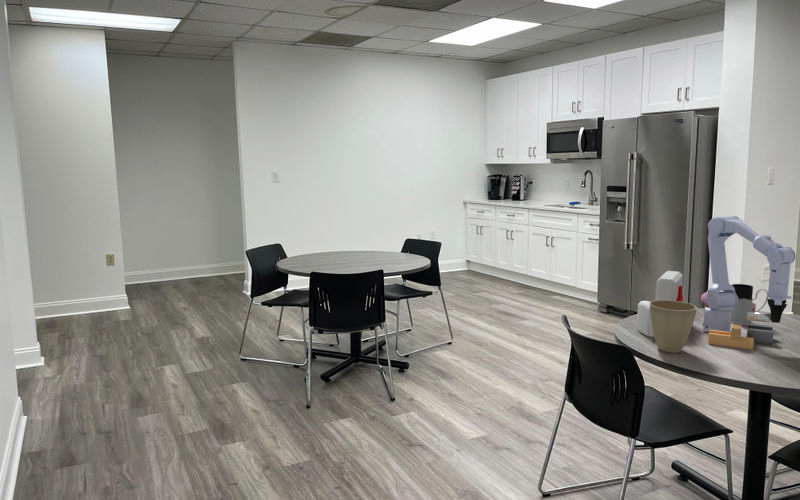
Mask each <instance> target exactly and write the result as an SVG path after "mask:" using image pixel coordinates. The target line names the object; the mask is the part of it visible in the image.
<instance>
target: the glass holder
mask: <svg viewBox="0 0 800 500" xmlns="http://www.w3.org/2000/svg"><path fill="white" fill-rule="evenodd" d="M731 285H732V286H733V287H734V289H735V293H736V295H737V297H738V302H737V304H736V305H735V306H734V309H732V317H731V324H736V325H742V326H747V324H748V323H749V324H753V323H752V322H753V321H750V320H747V312H752V303H753V301H754V300H757V298H758V294H759V292H761V291H764V292H766V295H767V294H768V290H766V289H762V288H761V289H758V290H757V291H756V293H755V297H754V298H753V295H754V293H753V292H754V286H753V285H751V284H744V283H732V284H731ZM767 299H769V297H767V296H766V298H765V301H764V302H763V304H762V306H761V307H760V308H758V309H757V310H755V312H757V313H759V312H760V310H762V309H763V308H764V307H765V306H766V304H767V303H768V301H767Z"/></svg>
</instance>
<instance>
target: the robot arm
mask: <svg viewBox="0 0 800 500" xmlns="http://www.w3.org/2000/svg"><path fill="white" fill-rule="evenodd" d="M707 230H708V234H707V243H708V253H709V263H710V272H711V279H712V284H711V285H710V286H709V287H708V289H707V291H706V292H708V294H707V298H706V301H707V304H708V306H709V308H707V307H705V312H704V311H703V322H702V327H703V328H702V332H703V333H709V330H718V331H727V332H731V329H732V323H731V317H732V309H734V306H735V305H736V304H737V302H738V297H737V295H736V293H735V289H734V287H733V286H732V284H731V283H730V281H729V273H728V265H727V264H728V263H727V254H726V245H725V242H726V241H727V240H728V239H729V238H730V237H731V236H733V235H734V234H735V235H736V234H737V235H739V236H741V237H742V238H743V239H746V240H747V241H749V242H751V243H753V244H752V245H753V246H752V247H753V248H754V249H755V250H756V251H758V252H759V253H760V254H762V255H763V256H765V257H766V260H767V261H768V264H769V266H768V267H769V278H768V290H767V292H768V294H767V293H766V297H768V299H767V305H768V307H769V312H770V314H771V320H772V322H774V324H780V323H779V322H780V319H781V320H782V316H783V313H784V310H785V309H786V307H787V306H788V303H787V300H788V299H789V300H791V299H792V295H788V294H789V285H790V284H789V283H790V273H791V264H792V263H794V262H795V260H796V252H795V250H794V249H792V248H791V247H790V246H783V245H782V243H781V242H780V243H779V242H777V241H775V240H774V239H772V236H771V235H766V234H762V235H760V234H759V233H758V232H756V231H755V230H753V229H752V228H751V226H748V225H747V224H746V223H745V222H744V219H741V218H740V217H738V216H736V215H732V216H714V217H712V218H711V219H710V220H709V222H708V223H707ZM772 322H771V323H772Z"/></svg>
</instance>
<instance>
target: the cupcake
mask: <svg viewBox="0 0 800 500" xmlns="http://www.w3.org/2000/svg"><path fill="white" fill-rule="evenodd" d="M707 294H708V292H707V291H706V292H704V293H702V294H701V296H700V300H701V301H702V303H703V313H704V312H705V307H707V308H709V306H708V304H707V301H706V298H707Z"/></svg>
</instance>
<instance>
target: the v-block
mask: <svg viewBox="0 0 800 500" xmlns="http://www.w3.org/2000/svg"><path fill="white" fill-rule="evenodd" d="M773 329H774V328H773V326H772V325H765V324H758V323H757V324H756V323H752V324H749V323H748V324H747V325H746V337H749V338H754V344H763V345H768V346H769V345H770V346H773V344H774V343H773V342H774V330H773Z"/></svg>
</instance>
